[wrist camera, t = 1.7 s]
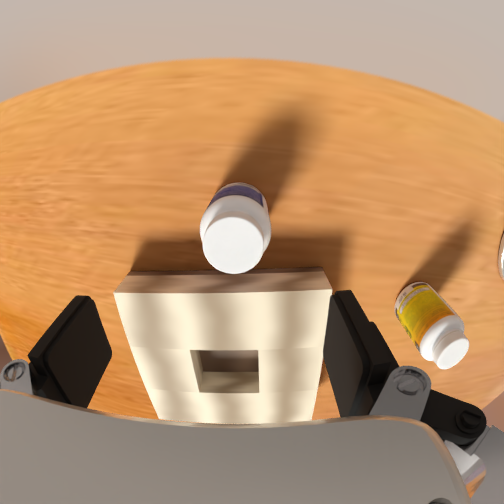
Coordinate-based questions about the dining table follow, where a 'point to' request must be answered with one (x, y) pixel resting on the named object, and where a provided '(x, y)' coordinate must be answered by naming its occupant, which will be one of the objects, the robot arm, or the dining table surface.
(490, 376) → the dining table surface
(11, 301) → the dining table surface
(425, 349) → the supplement bottle
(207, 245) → the pill bottle
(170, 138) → the dining table surface
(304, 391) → the socket block
